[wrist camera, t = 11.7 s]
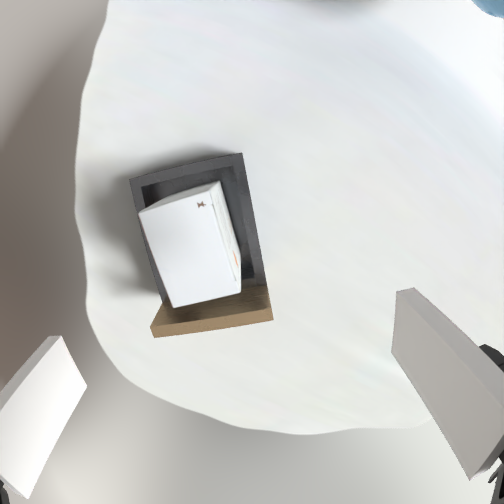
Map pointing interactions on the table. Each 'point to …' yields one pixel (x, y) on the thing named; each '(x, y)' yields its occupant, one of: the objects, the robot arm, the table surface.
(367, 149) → the table surface
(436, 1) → the table surface
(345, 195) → the table surface
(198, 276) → the small box
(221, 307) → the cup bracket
